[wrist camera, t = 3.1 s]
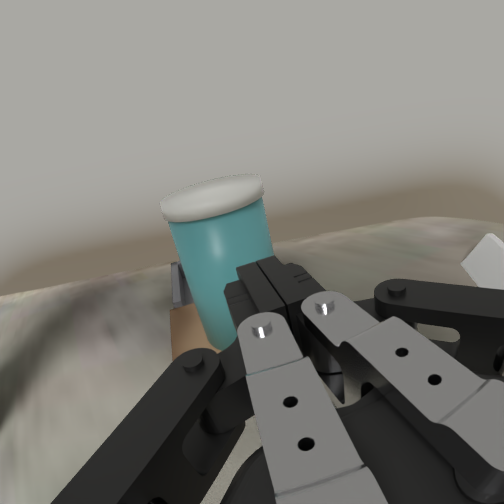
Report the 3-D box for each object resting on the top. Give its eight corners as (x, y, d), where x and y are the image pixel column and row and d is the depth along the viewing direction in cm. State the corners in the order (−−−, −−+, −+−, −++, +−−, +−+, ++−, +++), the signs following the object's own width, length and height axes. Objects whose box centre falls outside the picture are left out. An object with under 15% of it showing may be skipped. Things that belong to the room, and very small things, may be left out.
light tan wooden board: (184, 399, 21) (174, 381, 21) (176, 326, 30) (169, 310, 30) (338, 348, 23) (336, 328, 22) (293, 290, 32) (289, 273, 31)
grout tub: (210, 365, 21) (157, 215, 17) (199, 316, 28) (160, 194, 23) (302, 335, 22) (274, 182, 18) (273, 293, 29) (247, 170, 24)
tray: (181, 325, 30) (172, 303, 29) (177, 281, 40) (171, 263, 39) (288, 292, 32) (284, 269, 31) (261, 256, 41) (257, 237, 40)
